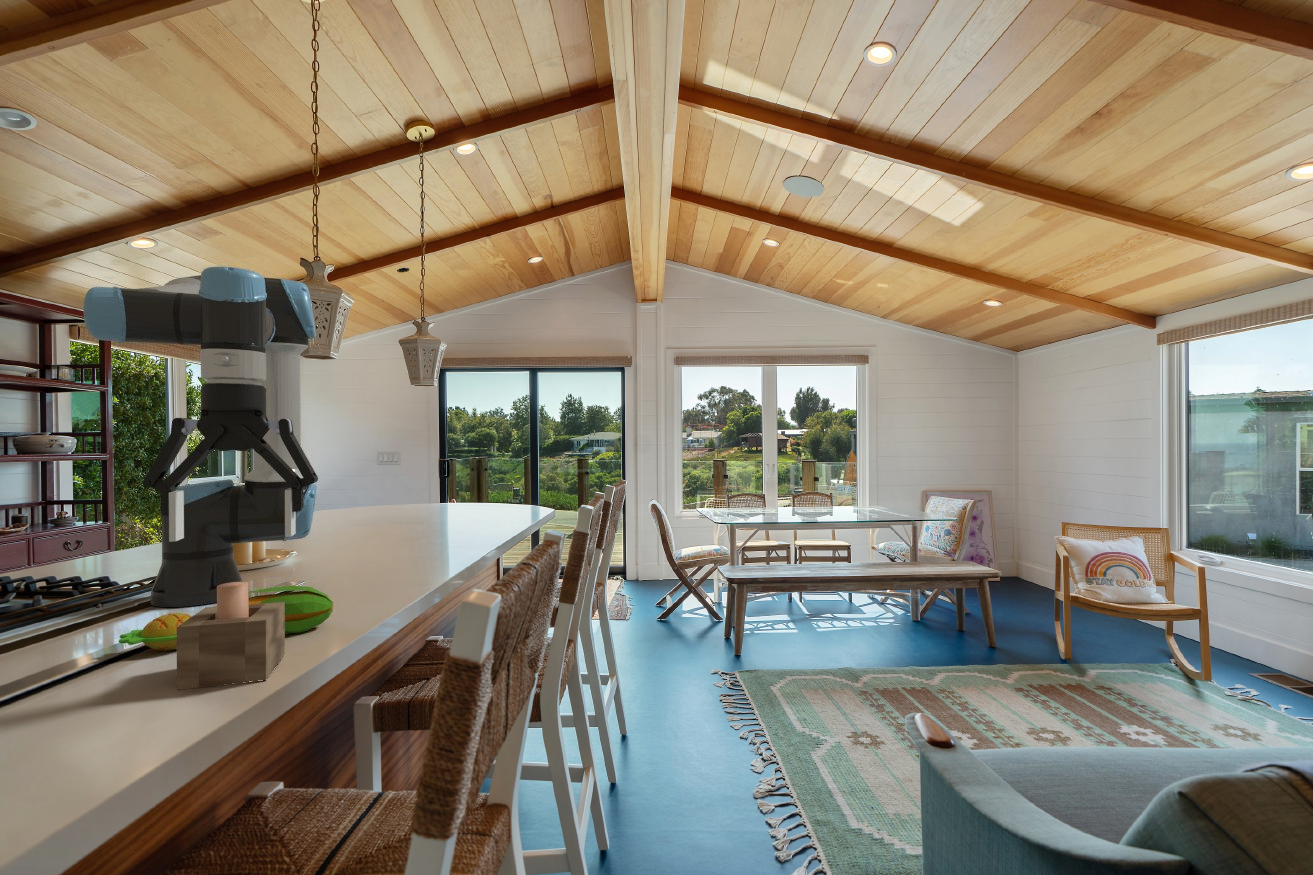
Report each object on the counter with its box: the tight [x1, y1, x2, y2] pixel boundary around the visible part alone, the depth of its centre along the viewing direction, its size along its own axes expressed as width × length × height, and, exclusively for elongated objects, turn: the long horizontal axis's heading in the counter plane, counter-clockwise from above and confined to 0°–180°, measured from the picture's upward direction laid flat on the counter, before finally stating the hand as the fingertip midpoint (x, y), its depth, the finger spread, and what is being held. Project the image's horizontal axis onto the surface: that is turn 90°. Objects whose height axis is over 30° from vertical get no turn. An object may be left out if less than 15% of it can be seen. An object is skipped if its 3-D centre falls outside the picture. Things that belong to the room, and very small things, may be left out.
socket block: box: [176, 602, 286, 691], centre depth 88 cm, size 10×10×8 cm
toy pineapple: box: [118, 612, 193, 652], centre depth 97 cm, size 7×10×5 cm
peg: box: [216, 581, 249, 620], centre depth 88 cm, size 4×4×12 cm
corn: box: [213, 585, 334, 635], centre depth 105 cm, size 7×8×20 cm
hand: (234, 537), depth 88 cm, fingers open, 13 cm apart
